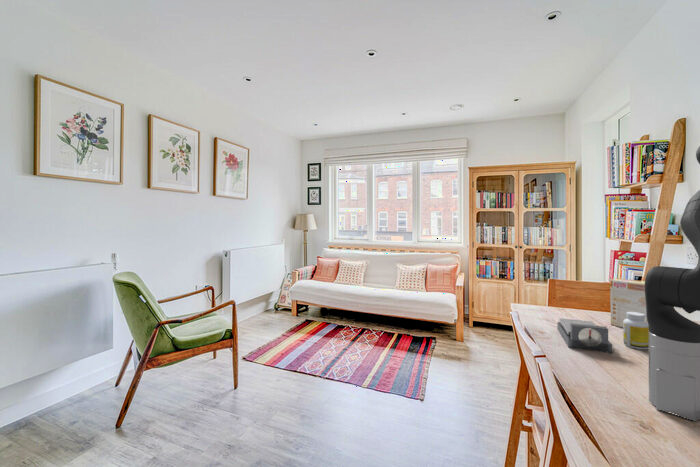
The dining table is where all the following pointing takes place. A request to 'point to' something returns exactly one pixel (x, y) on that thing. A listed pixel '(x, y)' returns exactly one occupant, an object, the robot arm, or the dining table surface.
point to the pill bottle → (636, 331)
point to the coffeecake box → (626, 299)
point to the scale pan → (566, 323)
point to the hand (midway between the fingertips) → (685, 308)
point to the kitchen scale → (586, 337)
